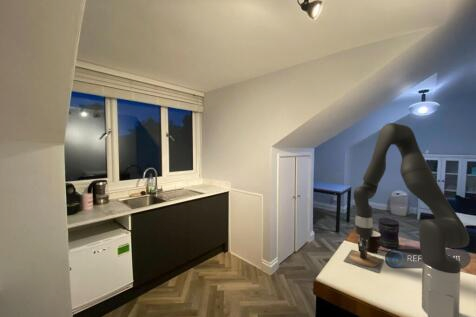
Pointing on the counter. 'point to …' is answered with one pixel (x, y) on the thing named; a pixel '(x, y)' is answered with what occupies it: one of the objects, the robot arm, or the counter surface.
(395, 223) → the storage jar
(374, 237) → the coffee mug
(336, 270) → the counter surface
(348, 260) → the mat
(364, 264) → the lid
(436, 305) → the robot arm
